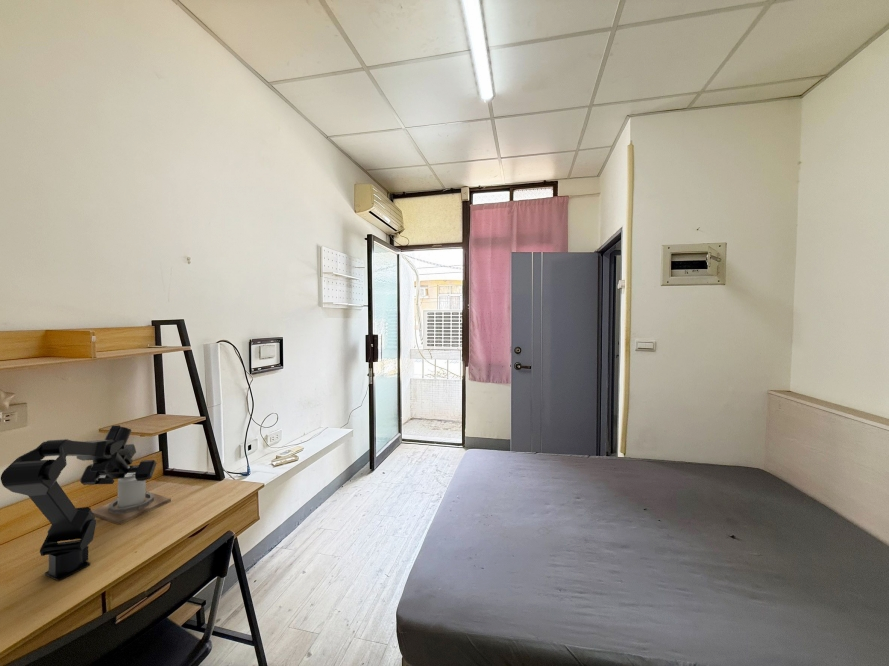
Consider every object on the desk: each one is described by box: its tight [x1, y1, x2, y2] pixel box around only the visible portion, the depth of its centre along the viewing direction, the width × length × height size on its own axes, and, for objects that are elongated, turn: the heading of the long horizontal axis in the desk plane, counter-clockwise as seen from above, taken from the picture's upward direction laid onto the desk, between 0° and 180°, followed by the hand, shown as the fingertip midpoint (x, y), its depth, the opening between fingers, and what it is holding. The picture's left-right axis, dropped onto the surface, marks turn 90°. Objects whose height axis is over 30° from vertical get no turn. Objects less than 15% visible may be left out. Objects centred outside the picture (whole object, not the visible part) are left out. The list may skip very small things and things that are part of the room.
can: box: [117, 473, 147, 508], centre depth 123 cm, size 8×8×12 cm
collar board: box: [91, 491, 172, 526], centre depth 124 cm, size 16×16×3 cm
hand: (129, 481), depth 121 cm, fingers open, 9 cm apart
